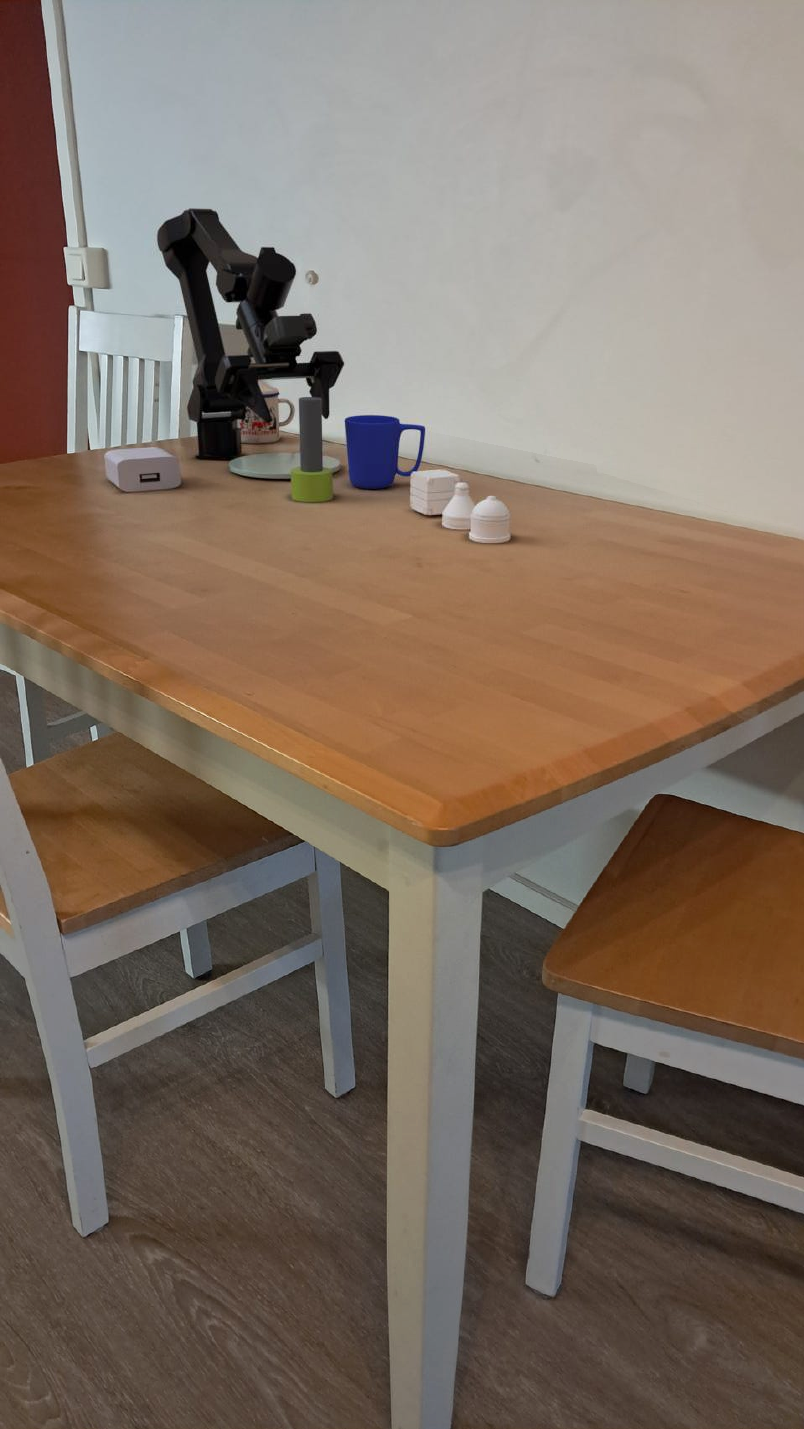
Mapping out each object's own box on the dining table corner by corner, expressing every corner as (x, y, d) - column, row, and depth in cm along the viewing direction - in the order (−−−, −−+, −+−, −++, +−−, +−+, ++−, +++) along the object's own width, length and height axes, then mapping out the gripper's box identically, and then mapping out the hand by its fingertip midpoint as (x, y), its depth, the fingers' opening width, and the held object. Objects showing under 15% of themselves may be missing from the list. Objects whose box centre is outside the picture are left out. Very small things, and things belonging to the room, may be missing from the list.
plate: (214, 478, 167) (214, 470, 166) (247, 457, 183) (246, 450, 182) (327, 483, 164) (326, 475, 164) (349, 462, 180) (349, 454, 180)
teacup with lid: (237, 445, 194) (234, 378, 189) (227, 437, 201) (224, 372, 197) (301, 442, 197) (299, 376, 193) (289, 434, 205) (287, 371, 201)
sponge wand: (287, 501, 153) (283, 400, 147) (297, 492, 158) (294, 394, 153) (328, 503, 152) (326, 401, 146) (336, 494, 158) (335, 396, 152)
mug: (423, 492, 159) (425, 424, 155) (343, 491, 159) (342, 422, 155) (424, 481, 167) (425, 415, 163) (347, 480, 167) (346, 414, 163)
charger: (155, 469, 173) (181, 487, 160) (98, 474, 169) (119, 492, 156) (153, 440, 171) (179, 455, 158) (94, 443, 167) (116, 460, 155)
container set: (409, 510, 148) (409, 471, 146) (442, 507, 150) (443, 468, 148) (482, 545, 132) (484, 501, 130) (518, 540, 134) (520, 497, 132)
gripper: (217, 294, 147) (253, 385, 143) (337, 292, 156) (374, 379, 151) (200, 349, 156) (233, 437, 152) (314, 345, 165) (349, 428, 161)
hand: (298, 419), depth 154 cm, fingers open, 9 cm apart
